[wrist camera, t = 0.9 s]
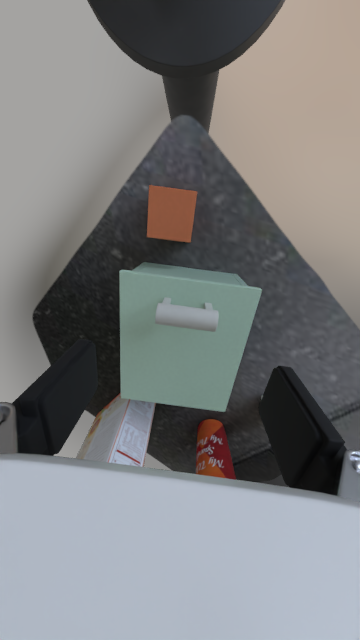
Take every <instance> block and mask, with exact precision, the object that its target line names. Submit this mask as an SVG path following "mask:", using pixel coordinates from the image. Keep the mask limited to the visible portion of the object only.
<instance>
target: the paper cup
mask: <svg viewBox="0 0 360 640" xmlns="http://www.w3.org/2000/svg"><path fill="white" fill-rule="evenodd" d="M196 474H198V475H205V476H213V477H220V478H227V479H234V480H236V478H235V473H234V469H233V464H232V460H231V455H230V451H229V446H228V442H227V437H226V433H225V429H224V426H223V424H222V423H221V422H220V421H218V420H215V419H207V420H204V421H202V422H201V423H200V424H199V426H198V434H197V458H196Z"/></svg>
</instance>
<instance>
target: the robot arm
mask: <svg viewBox="0 0 360 640" xmlns="http://www.w3.org/2000/svg"><path fill="white" fill-rule="evenodd" d="M97 387H98V376H97V360H96V346H95V344H93V343H92V341H91V340H85V339H79V340H78V341H76V342H75V343H74V344H73V345H72V346H71V347H70V348H69V349H68V350H67V351H66V352H65V353H64V354H63V355H62V356H61V357H60V358H59V359H58V360H57V361H56V362H55V363H54V364H53V365H51V366H50V367H49V368H48V369H47V371H45V372H44V373H43V374H42V375H41V376H40V377H39V378H38V379H37V380H36V381H35V382H34V383H33V384H32V385H31V386H30V387H29V388H28V389H27V390H26V391H24V393H22V394H21V395H20V396H19V397H18V398H17V399H16V400H15V401H14V402H13V403H12V404H11V403H8V402H0V640H360V451H359V450H356V449H349V450H347V449H346V448H345V446H344V443H345V441H344V440H343V439H342V437H341V436H340V435H339V433H338V432H337V430H336V429H335V428H334V426H333V425H332V423H331V422H330V421H329V419H328V418H327V416H326V415H325V414H324V412H323V411H322V409H321V408H320V407H319V405H318V404H317V403H316V401H315V400H314V398H313V397H312V396H311V394H310V393H309V391H308V390H307V389H306V387H305V386H304V384H303V383H302V382H301V380H300V379H299V377H298V376H297V375H296V373H295V372H294V371H293V369H292V368H291V367H285V366H278V367H277V368H274V369H273V371H272V374H271V376H270V379H269V381H268V384H267V387H266V389H265V392H264V394H263V397H262V399H261V402H260V404H259V413H260V416H261V419H262V422H263V424H264V427H265V430H266V433H267V435H268V438H269V441H270V443H271V446H272V449H273V452H274V454H275V457H276V460H277V463H278V465H279V468H280V471H281V474H282V476H283V479H284V481H285V483H286V484H287V485H288V486H289V487H290V488H289V487H283V486H276V485H269V484H262V483H255V482H248V481H241V480H234V479H227V478H220V477H213V476H205V475H198V474H191V473H183V472H176V471H169V470H160V469H153V468H146V467H139V466H131V465H123V464H116V463H108V462H100V461H93V460H85V459H76V458H67V457H58V456H53V455H54V454H57V453H59V451H60V450H61V448H62V447H63V445H64V443H65V442H66V440H67V438H68V437H69V435H70V433H71V431H72V430H73V428H74V427H75V425H76V423H77V422H78V420H79V418H80V417H81V415H82V413H83V412H84V410H85V408H86V407H87V405H88V403H89V402H90V400H91V398H92V397H93V395H94V393H95V392H96V390H97Z"/></svg>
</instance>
